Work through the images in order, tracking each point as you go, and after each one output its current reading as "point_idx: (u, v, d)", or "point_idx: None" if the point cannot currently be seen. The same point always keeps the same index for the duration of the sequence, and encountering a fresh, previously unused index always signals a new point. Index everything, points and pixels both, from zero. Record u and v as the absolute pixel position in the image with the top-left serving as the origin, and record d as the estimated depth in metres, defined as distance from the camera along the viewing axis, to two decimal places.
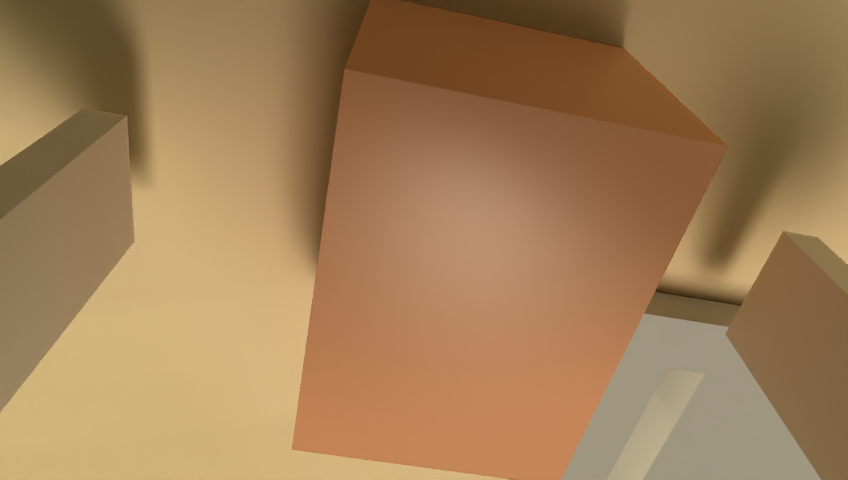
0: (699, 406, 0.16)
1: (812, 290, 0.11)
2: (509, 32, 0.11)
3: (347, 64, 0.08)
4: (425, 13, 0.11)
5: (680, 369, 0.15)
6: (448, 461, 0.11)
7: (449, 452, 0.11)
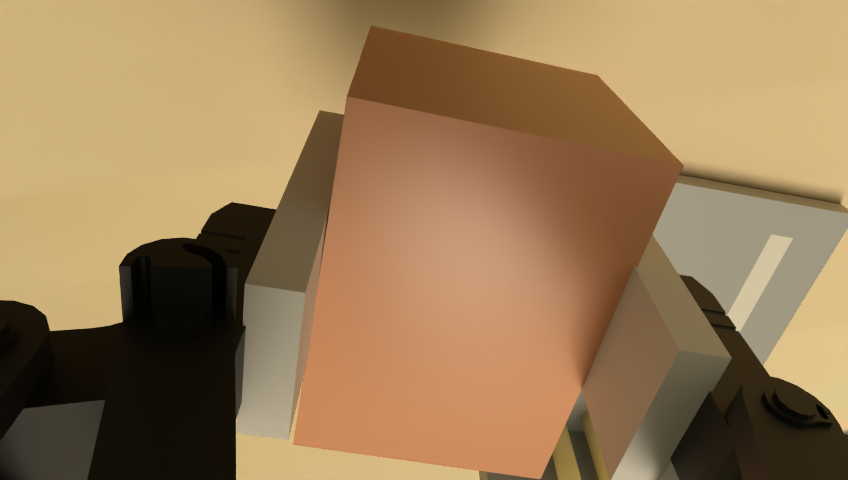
0: None
1: None
2: (494, 62, 0.12)
3: (349, 92, 0.09)
4: (418, 45, 0.12)
5: None
6: (438, 456, 0.12)
7: (439, 447, 0.12)
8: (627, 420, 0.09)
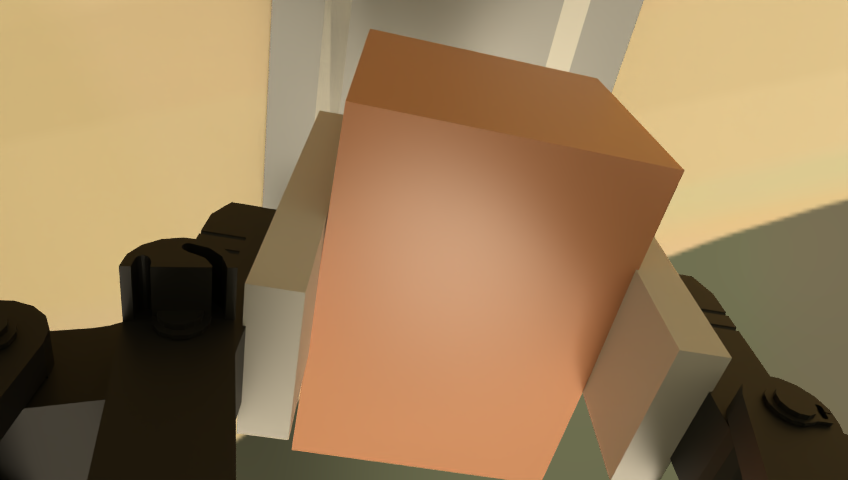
0: None
1: None
2: (494, 65, 0.12)
3: (348, 97, 0.09)
4: (417, 48, 0.12)
5: None
6: (437, 461, 0.12)
7: (438, 452, 0.12)
8: (627, 420, 0.09)
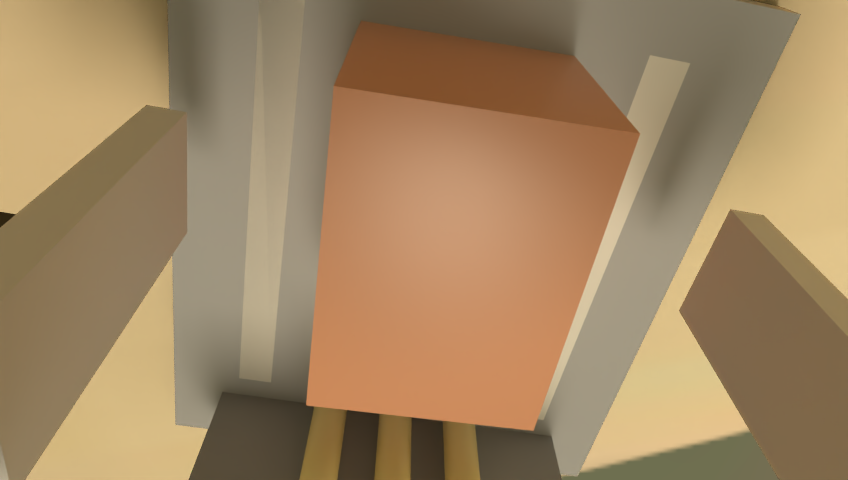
0: (316, 39, 0.14)
1: (753, 264, 0.12)
2: (475, 48, 0.13)
3: (336, 82, 0.10)
4: (404, 36, 0.13)
5: None
6: (438, 411, 0.13)
7: (438, 403, 0.13)
8: None
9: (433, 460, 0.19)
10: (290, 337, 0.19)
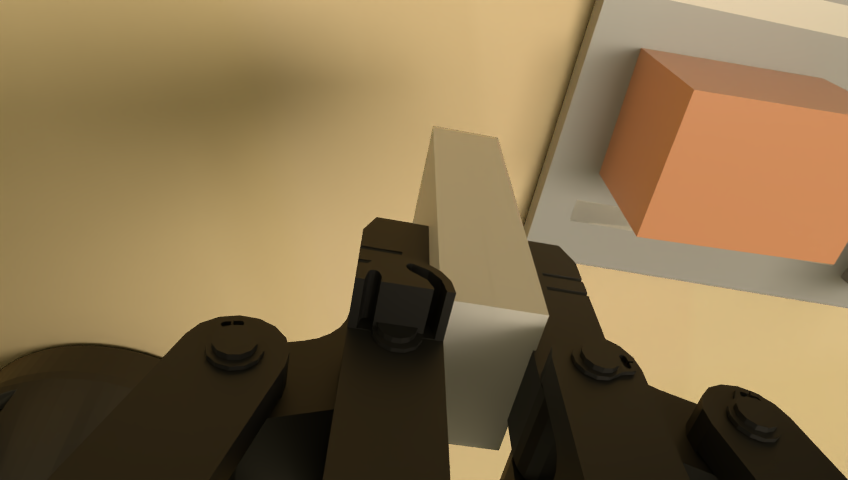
0: (605, 196, 0.25)
1: None
2: (626, 120, 0.22)
3: (635, 233, 0.20)
4: (612, 158, 0.23)
5: (571, 213, 0.26)
6: None
7: None
8: None
9: None
10: None
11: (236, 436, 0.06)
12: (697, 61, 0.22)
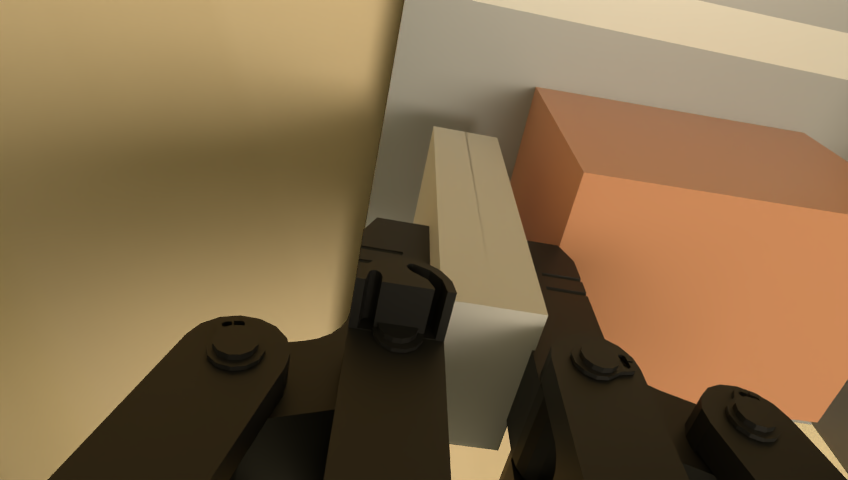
0: None
1: None
2: (516, 192, 0.15)
3: None
4: None
5: None
6: None
7: None
8: None
9: None
10: None
11: (237, 436, 0.06)
12: (616, 109, 0.14)
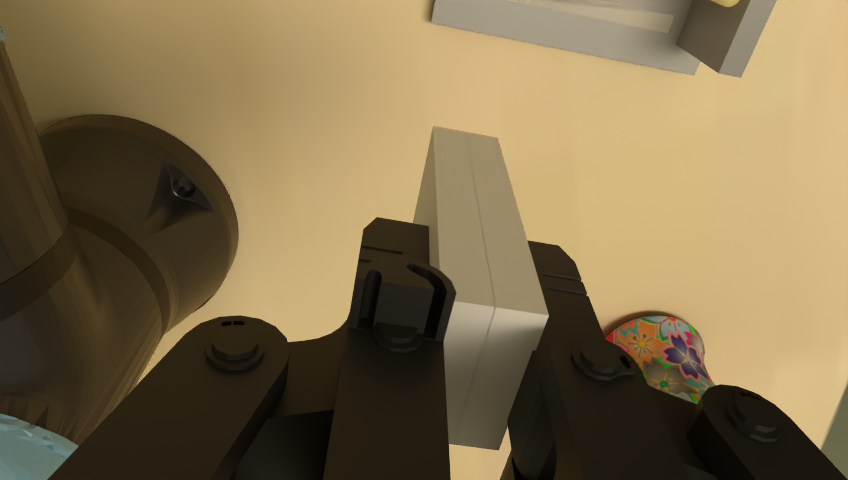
0: None
1: None
2: None
3: None
4: None
5: None
6: None
7: None
8: None
9: None
10: (644, 0, 0.34)
11: (236, 436, 0.06)
12: None
